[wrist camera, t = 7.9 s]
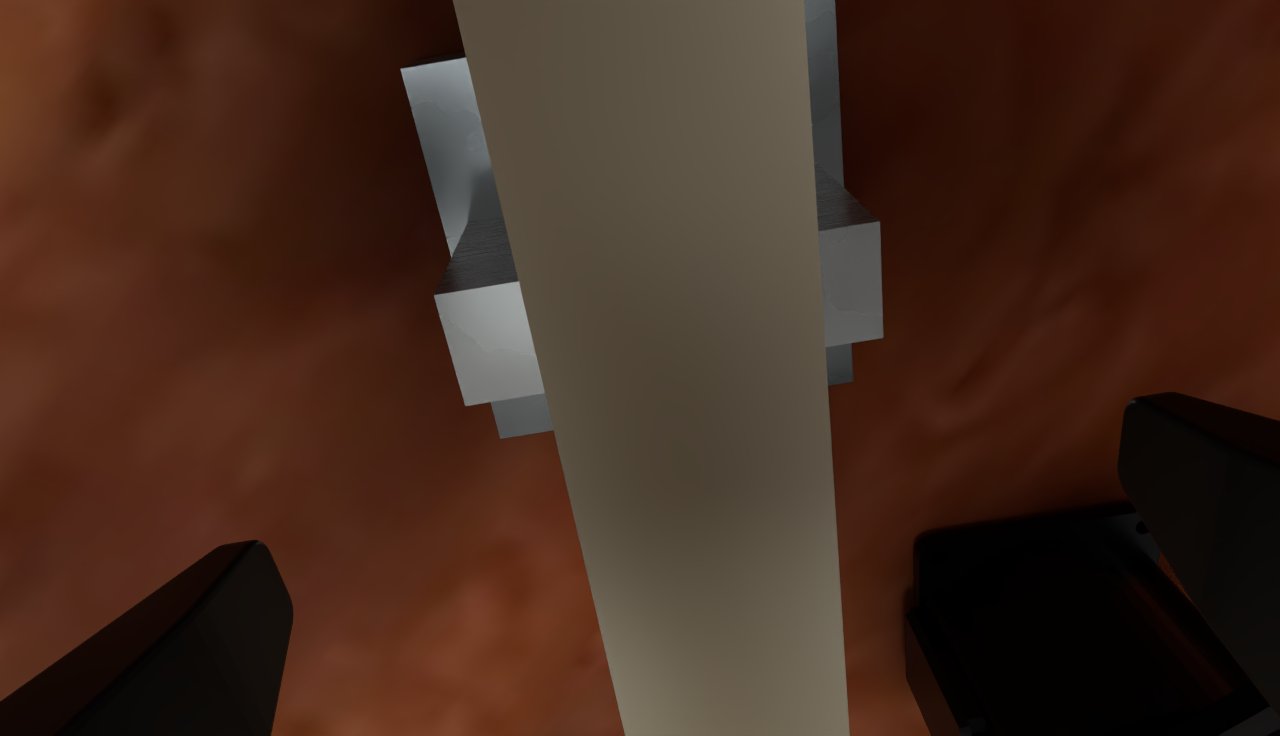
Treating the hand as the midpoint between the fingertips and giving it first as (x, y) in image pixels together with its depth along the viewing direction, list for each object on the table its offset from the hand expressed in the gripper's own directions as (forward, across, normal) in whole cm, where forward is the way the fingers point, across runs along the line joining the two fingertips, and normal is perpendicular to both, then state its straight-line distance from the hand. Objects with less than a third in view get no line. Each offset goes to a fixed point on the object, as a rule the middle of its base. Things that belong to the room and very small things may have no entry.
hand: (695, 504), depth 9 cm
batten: (+5, 0, 0) cm, 5 cm away
